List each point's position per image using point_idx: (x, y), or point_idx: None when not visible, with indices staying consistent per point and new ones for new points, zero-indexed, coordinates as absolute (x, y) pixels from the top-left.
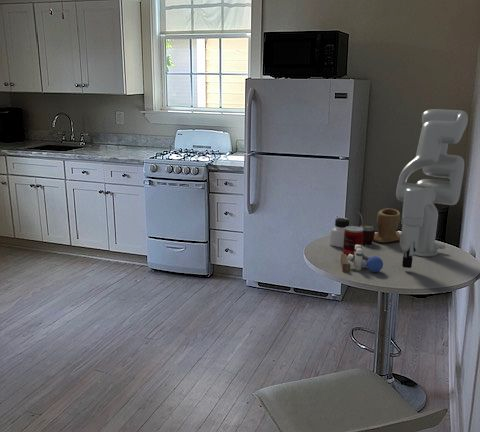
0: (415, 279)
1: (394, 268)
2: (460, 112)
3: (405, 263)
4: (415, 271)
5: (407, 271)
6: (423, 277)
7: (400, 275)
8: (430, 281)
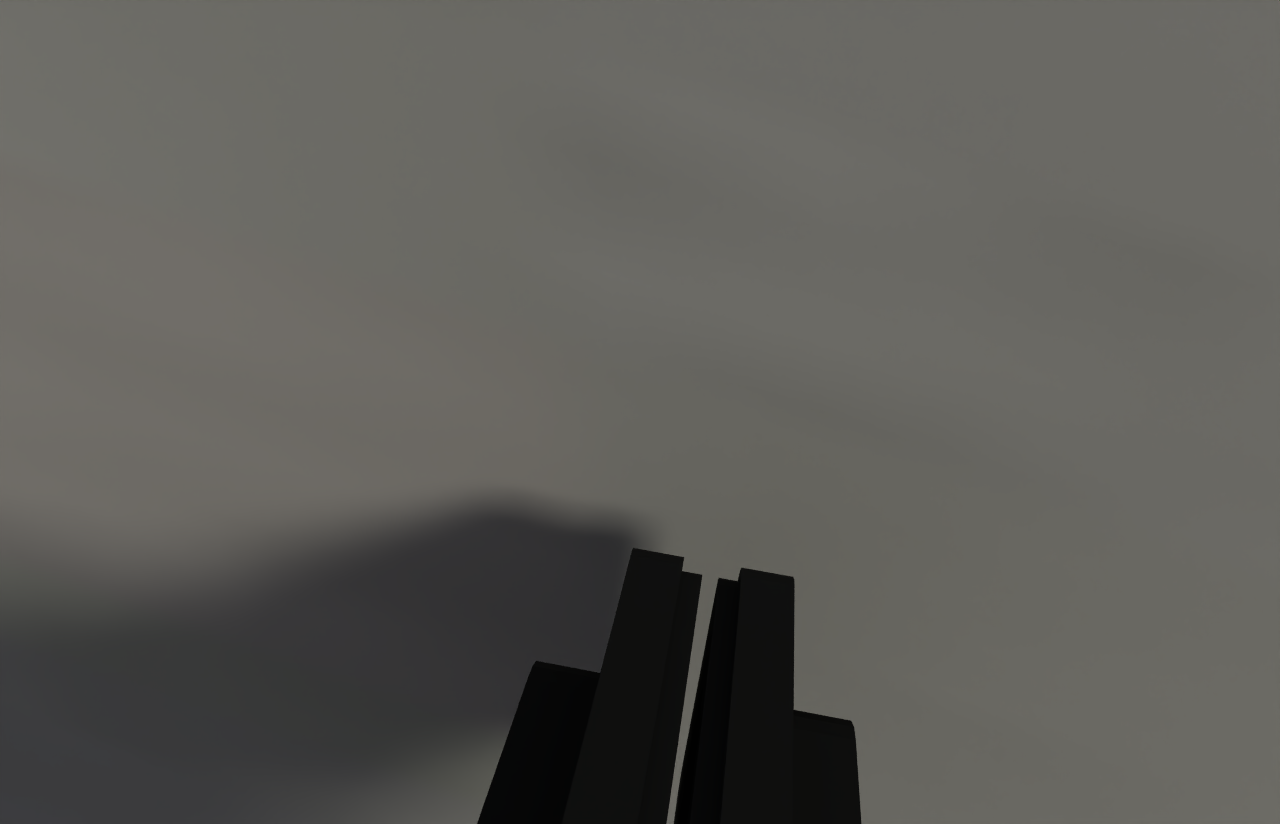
0: (11, 560)
1: (925, 277)
2: None
3: (579, 711)
4: None
5: None
6: (229, 783)
7: (208, 253)
8: (10, 812)
